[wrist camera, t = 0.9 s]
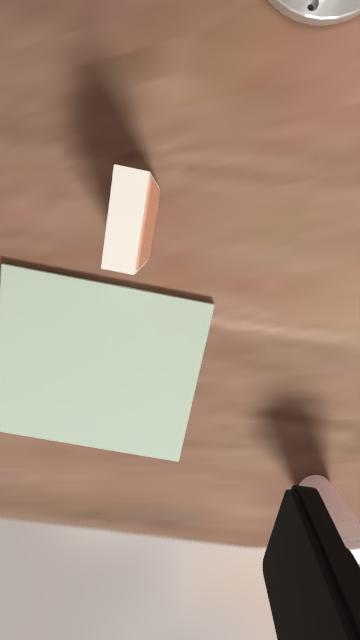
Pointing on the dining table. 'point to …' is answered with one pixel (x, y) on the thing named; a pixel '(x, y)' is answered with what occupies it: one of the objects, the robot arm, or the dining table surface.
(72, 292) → the mat
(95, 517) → the dining table surface
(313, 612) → the robot arm
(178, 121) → the dining table surface
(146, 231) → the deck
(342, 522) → the smoothie
